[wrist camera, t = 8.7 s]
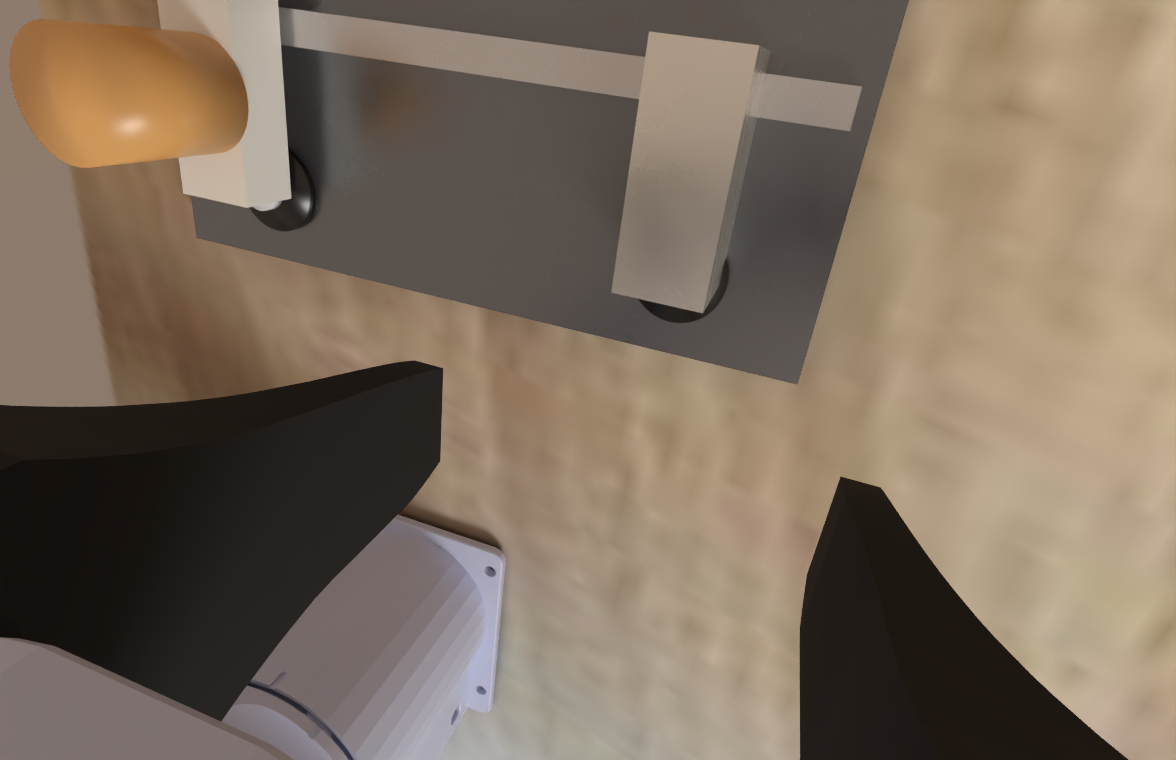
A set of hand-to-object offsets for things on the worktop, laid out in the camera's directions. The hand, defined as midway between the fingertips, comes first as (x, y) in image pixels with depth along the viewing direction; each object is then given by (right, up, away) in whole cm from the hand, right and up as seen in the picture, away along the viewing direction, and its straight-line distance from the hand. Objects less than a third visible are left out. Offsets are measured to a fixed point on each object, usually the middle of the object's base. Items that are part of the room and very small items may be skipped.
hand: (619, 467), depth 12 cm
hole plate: (-4, +9, +9) cm, 14 cm away
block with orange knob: (-11, +10, +9) cm, 18 cm away
